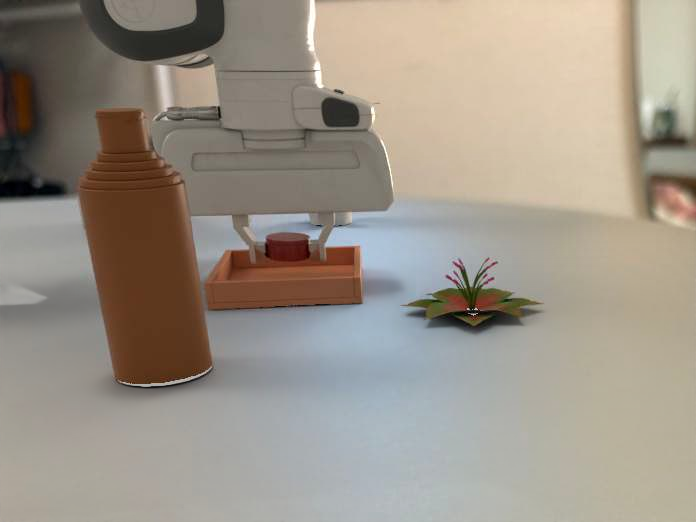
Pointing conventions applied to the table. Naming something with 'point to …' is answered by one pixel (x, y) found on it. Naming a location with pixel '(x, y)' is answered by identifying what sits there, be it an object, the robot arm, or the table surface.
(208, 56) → the robot arm
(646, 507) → the table surface
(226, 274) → the tray
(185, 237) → the bottle
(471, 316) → the flowering rosette plant
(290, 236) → the cap
